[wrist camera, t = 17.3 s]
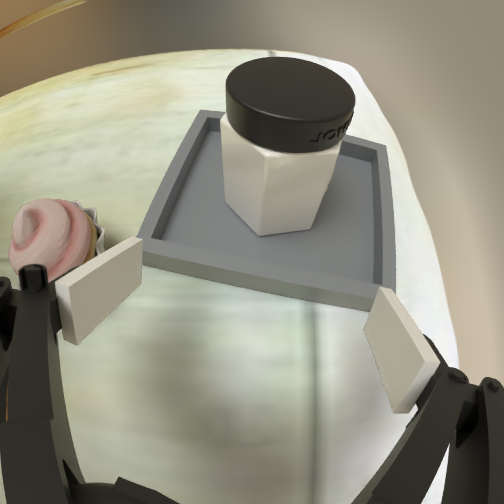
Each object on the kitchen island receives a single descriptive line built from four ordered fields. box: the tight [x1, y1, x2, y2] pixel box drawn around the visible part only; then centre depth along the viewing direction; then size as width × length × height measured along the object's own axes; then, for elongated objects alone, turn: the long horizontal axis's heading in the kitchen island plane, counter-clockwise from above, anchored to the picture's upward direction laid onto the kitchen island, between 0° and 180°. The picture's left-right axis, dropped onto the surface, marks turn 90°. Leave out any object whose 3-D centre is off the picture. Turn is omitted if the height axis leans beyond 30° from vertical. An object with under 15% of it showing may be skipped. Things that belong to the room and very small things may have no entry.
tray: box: [136, 110, 396, 312], centre depth 26 cm, size 20×17×3 cm
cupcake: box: [9, 199, 105, 290], centre depth 19 cm, size 9×9×10 cm
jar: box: [220, 57, 355, 236], centre depth 21 cm, size 9×8×12 cm
